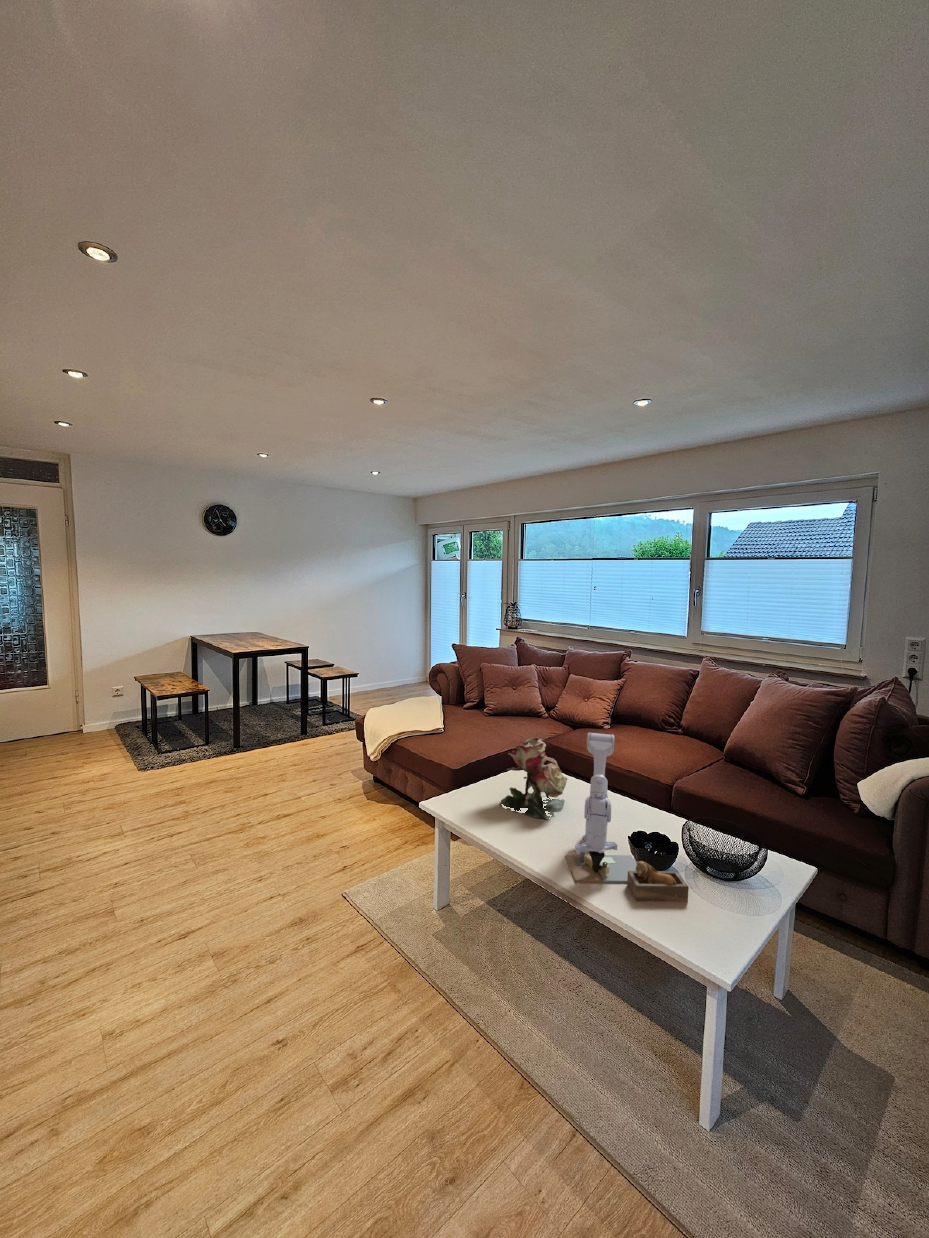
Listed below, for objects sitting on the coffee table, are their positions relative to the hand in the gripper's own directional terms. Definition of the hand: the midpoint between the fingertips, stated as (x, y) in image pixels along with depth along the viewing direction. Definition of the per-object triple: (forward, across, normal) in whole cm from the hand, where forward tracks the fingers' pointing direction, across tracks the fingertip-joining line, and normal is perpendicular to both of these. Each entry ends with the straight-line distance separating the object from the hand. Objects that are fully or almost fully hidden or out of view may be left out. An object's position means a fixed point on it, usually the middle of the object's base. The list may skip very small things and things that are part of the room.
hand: (595, 870), depth 174 cm
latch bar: (0, +1, +2) cm, 2 cm away
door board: (+2, +5, +3) cm, 6 cm away
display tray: (+2, +15, -13) cm, 20 cm away
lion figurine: (+2, +15, -13) cm, 20 cm away
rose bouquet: (+2, 0, +57) cm, 57 cm away
